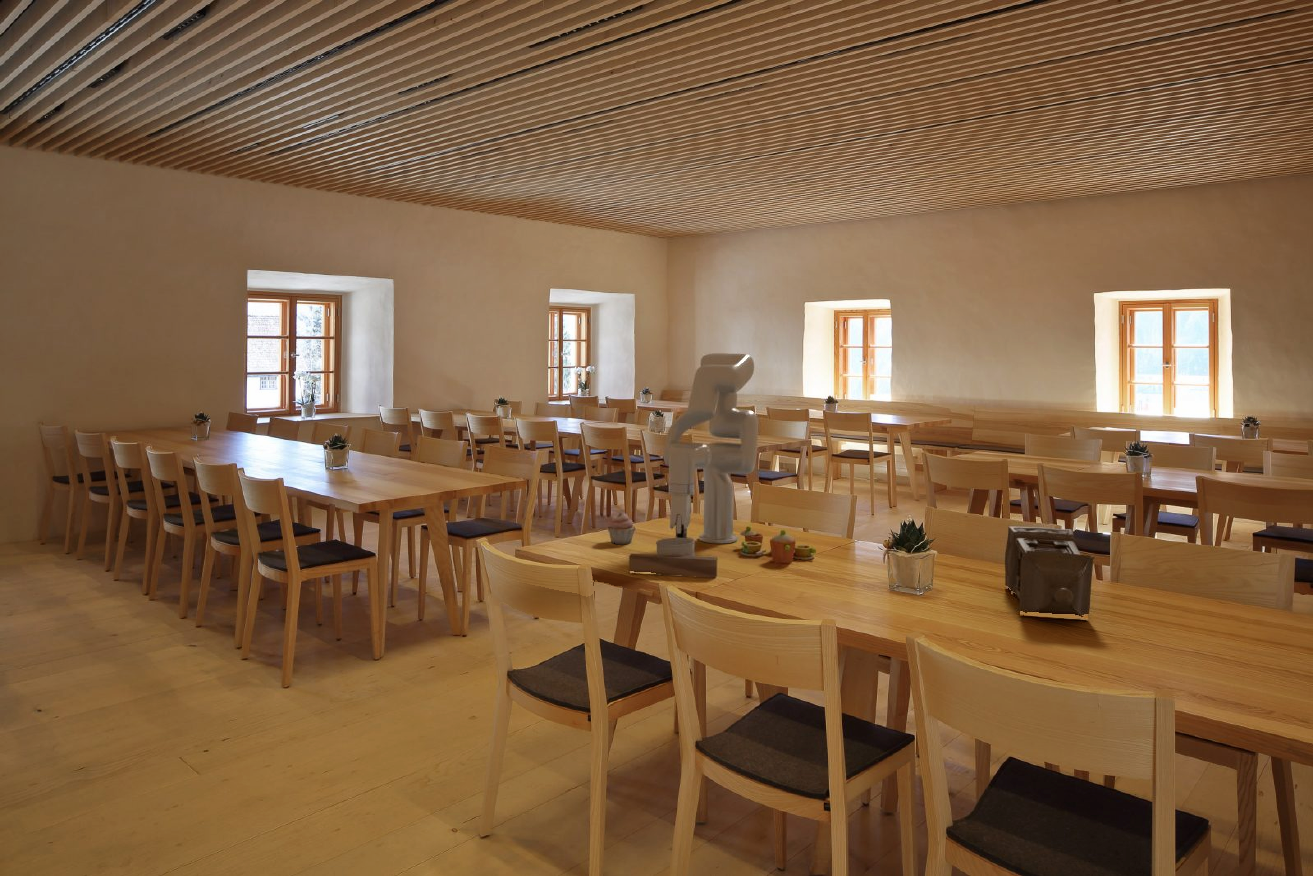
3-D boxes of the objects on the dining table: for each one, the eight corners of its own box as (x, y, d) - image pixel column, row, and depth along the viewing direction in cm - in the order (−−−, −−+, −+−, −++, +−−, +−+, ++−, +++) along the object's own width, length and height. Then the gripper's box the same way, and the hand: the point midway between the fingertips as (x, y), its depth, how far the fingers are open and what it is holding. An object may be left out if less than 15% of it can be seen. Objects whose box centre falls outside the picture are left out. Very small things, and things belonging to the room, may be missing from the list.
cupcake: (602, 541, 292) (602, 510, 291) (628, 538, 296) (628, 508, 295) (613, 547, 283) (613, 515, 282) (640, 544, 287) (640, 513, 286)
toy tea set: (821, 559, 271) (822, 527, 270) (791, 568, 260) (792, 534, 259) (752, 545, 289) (753, 515, 288) (721, 552, 278) (721, 521, 277)
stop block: (631, 571, 254) (631, 553, 253) (717, 575, 250) (717, 557, 249) (629, 573, 251) (629, 556, 250) (715, 578, 247) (716, 559, 246)
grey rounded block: (673, 575, 250) (673, 546, 249) (648, 567, 258) (648, 539, 257) (710, 567, 259) (710, 539, 258) (684, 560, 267) (684, 533, 266)
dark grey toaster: (1097, 646, 201) (1115, 566, 198) (1013, 629, 205) (1029, 551, 202) (1068, 599, 235) (1082, 531, 232) (996, 586, 239) (1009, 518, 236)
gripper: (672, 484, 272) (672, 544, 274) (664, 492, 257) (664, 556, 259) (697, 485, 270) (696, 545, 272) (691, 493, 256) (690, 557, 258)
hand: (681, 550), depth 266 cm, fingers closed
